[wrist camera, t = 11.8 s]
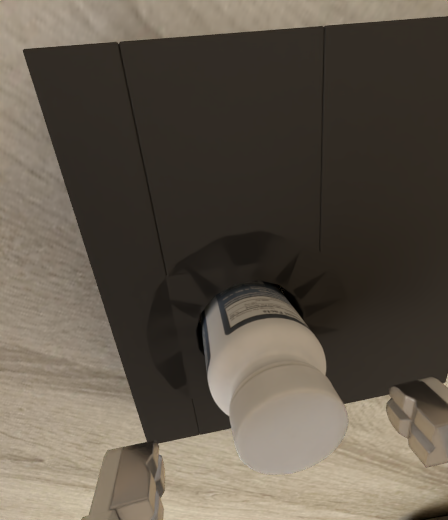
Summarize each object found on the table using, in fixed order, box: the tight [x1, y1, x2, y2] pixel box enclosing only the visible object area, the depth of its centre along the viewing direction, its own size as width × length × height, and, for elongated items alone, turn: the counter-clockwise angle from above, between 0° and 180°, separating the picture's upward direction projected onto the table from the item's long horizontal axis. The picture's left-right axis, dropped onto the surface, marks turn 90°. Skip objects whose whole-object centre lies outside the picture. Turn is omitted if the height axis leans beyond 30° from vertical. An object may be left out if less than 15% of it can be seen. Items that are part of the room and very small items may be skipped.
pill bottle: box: [200, 281, 348, 475], centre depth 13 cm, size 5×5×9 cm
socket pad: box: [23, 16, 448, 443], centre depth 15 cm, size 20×20×3 cm
